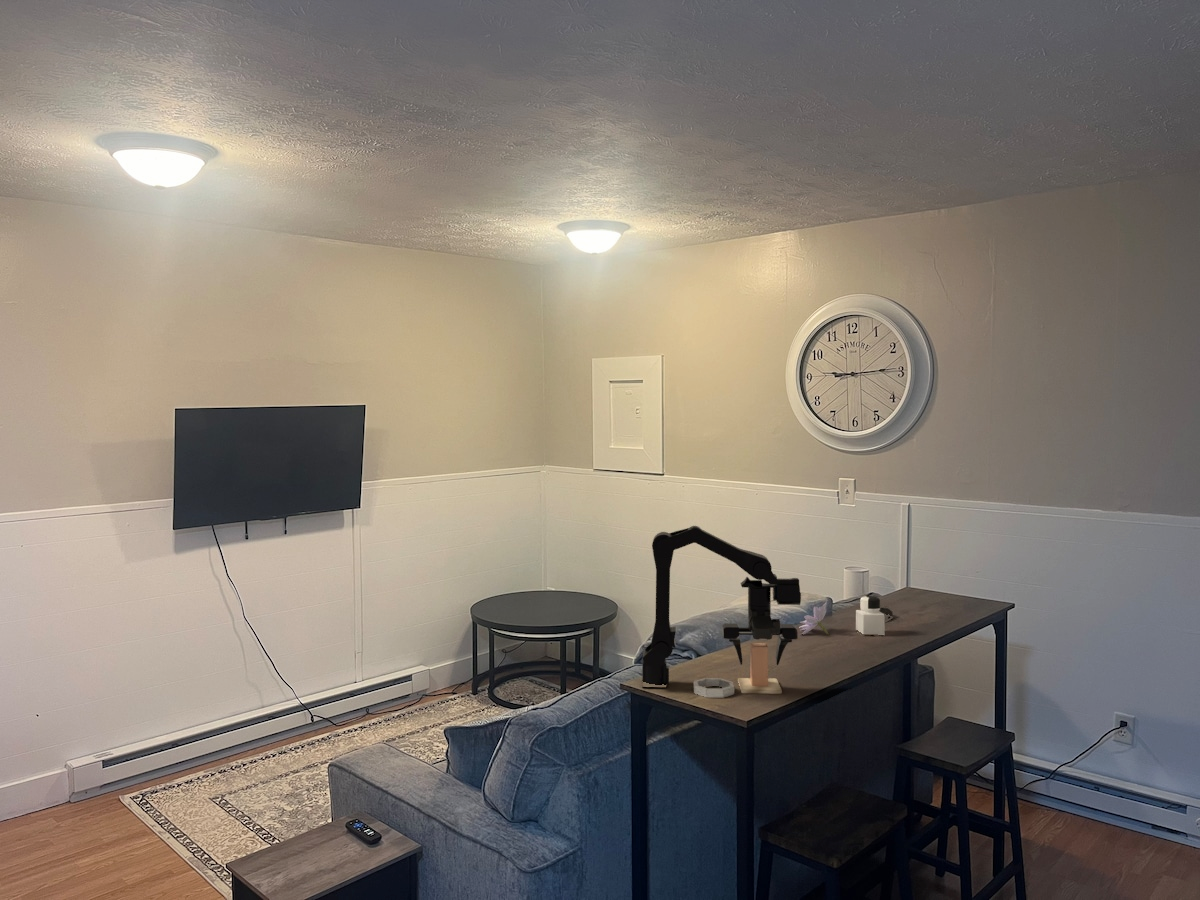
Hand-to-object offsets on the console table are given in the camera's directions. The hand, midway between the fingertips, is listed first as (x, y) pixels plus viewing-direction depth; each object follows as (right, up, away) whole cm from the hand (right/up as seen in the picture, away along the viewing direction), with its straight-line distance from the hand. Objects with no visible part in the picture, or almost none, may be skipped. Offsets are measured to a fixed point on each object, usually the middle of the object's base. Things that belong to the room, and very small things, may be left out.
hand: (759, 664), depth 228 cm
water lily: (+28, -5, +60) cm, 67 cm away
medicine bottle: (+46, -5, +59) cm, 75 cm away
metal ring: (-12, -6, -3) cm, 14 cm away
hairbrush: (+53, -4, +76) cm, 92 cm away
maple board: (0, -6, 0) cm, 6 cm away
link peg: (0, -5, 0) cm, 5 cm away
